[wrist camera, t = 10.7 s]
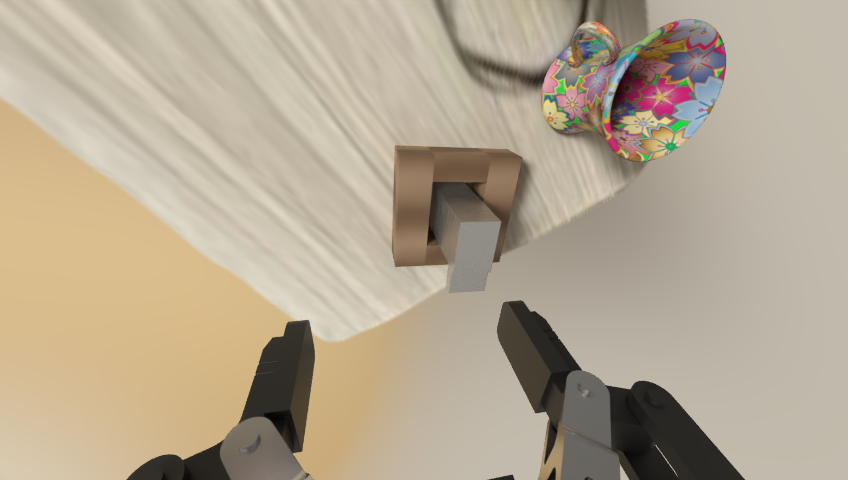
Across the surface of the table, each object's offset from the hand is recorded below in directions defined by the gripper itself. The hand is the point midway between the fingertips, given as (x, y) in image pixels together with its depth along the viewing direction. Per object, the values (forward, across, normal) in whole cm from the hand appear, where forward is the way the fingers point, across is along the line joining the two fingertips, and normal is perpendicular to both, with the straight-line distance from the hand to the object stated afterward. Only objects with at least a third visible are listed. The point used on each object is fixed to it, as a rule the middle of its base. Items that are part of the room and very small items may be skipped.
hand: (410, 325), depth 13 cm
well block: (+22, -8, +4) cm, 23 cm away
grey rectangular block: (+22, -7, +5) cm, 24 cm away
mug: (+22, -19, -9) cm, 30 cm away
